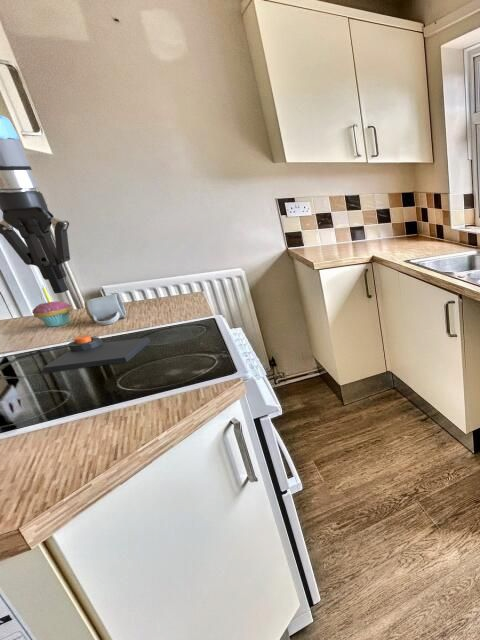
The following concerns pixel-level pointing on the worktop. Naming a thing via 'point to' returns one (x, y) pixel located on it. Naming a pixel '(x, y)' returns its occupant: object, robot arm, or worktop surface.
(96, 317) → the ceramic mug
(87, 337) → the button
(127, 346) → the scale
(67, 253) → the robot arm
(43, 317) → the cupcake
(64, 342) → the worktop surface
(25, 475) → the worktop surface
